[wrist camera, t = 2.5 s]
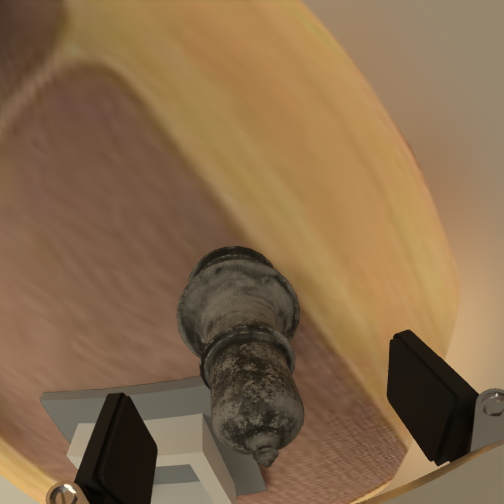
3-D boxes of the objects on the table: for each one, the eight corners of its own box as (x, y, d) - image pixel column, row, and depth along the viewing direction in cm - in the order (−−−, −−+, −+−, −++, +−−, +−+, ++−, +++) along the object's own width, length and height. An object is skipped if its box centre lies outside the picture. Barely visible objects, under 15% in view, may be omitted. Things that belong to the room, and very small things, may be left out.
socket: (43, 392, 19) (22, 430, 14) (229, 370, 20) (234, 418, 15) (122, 494, 23) (116, 527, 19) (265, 482, 24) (273, 519, 20)
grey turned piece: (291, 245, 18) (407, 375, 6) (276, 336, 19) (339, 501, 8) (185, 236, 17) (140, 377, 6) (180, 331, 19) (161, 510, 7)
